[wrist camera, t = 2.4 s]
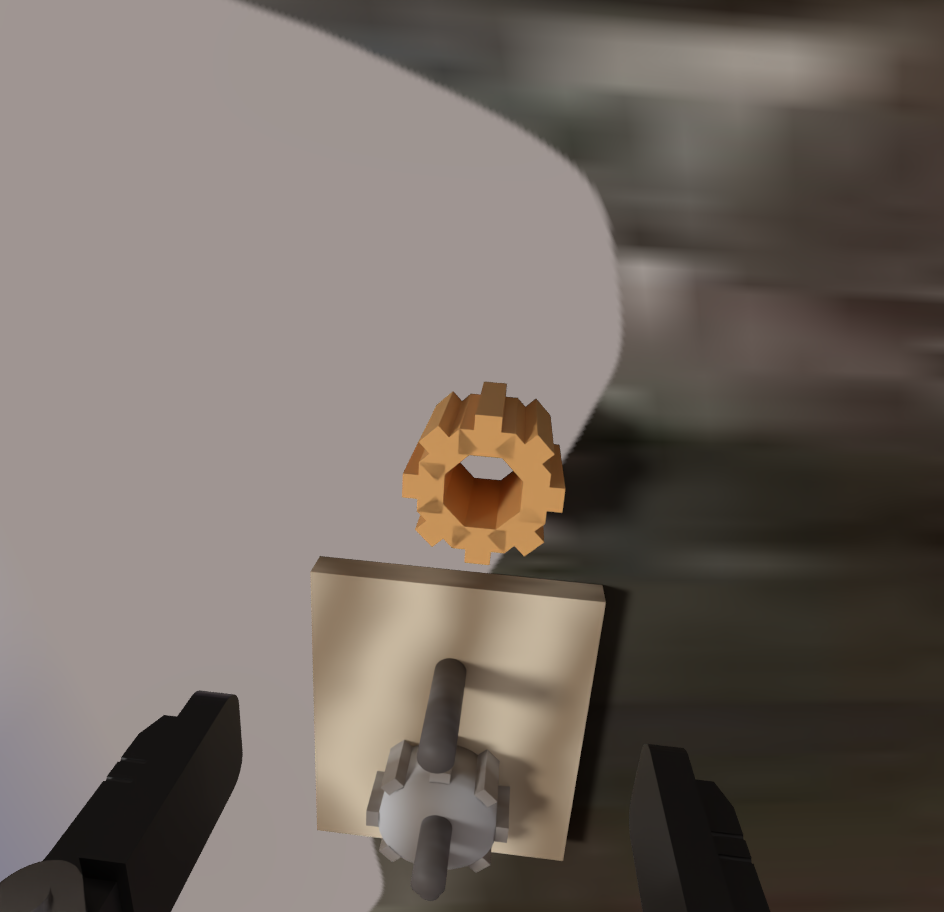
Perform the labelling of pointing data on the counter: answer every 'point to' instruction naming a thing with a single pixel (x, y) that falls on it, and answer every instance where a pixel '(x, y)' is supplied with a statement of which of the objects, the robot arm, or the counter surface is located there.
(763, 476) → the counter surface
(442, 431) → the orange gear
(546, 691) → the gear board
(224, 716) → the robot arm
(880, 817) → the counter surface
